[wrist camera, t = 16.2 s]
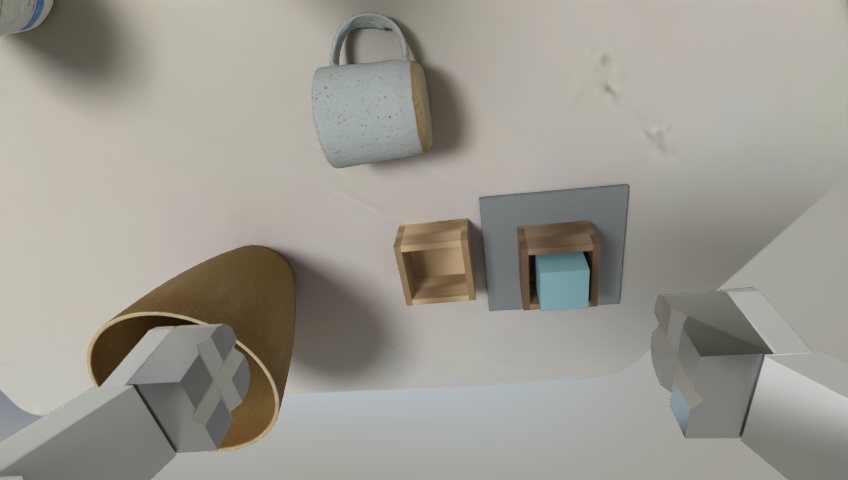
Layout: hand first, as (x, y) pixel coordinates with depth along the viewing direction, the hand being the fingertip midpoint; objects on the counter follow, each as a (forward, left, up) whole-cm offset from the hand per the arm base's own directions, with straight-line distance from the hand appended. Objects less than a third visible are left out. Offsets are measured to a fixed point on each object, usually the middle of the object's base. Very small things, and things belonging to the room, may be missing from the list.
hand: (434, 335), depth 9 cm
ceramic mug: (+7, +2, -34) cm, 34 cm away
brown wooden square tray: (-7, +19, -33) cm, 39 cm away
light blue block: (-7, +19, -32) cm, 38 cm away
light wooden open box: (+4, +18, -33) cm, 38 cm away
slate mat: (-7, +19, -33) cm, 39 cm away
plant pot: (+23, +19, -33) cm, 45 cm away
